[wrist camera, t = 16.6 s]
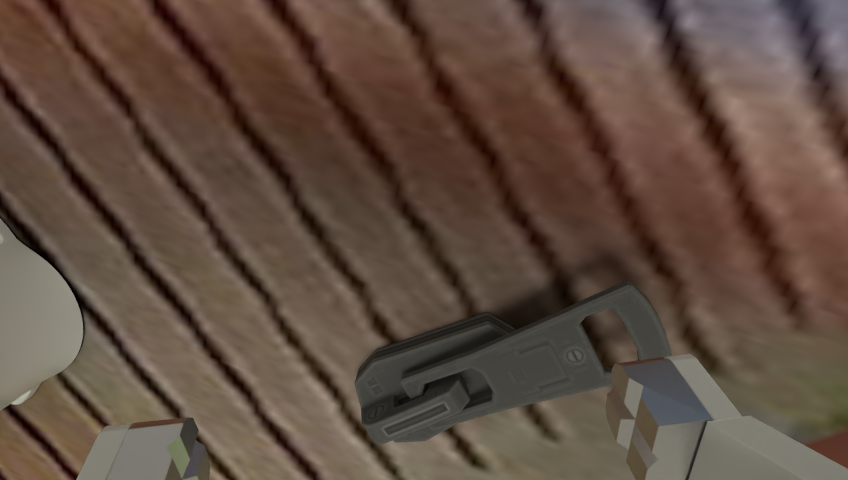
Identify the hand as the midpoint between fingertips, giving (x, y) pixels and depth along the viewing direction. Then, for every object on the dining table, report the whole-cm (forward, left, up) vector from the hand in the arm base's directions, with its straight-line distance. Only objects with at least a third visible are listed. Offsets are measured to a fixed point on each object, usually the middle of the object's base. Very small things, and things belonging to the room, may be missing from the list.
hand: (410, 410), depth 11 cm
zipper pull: (+6, -17, -32) cm, 37 cm away
